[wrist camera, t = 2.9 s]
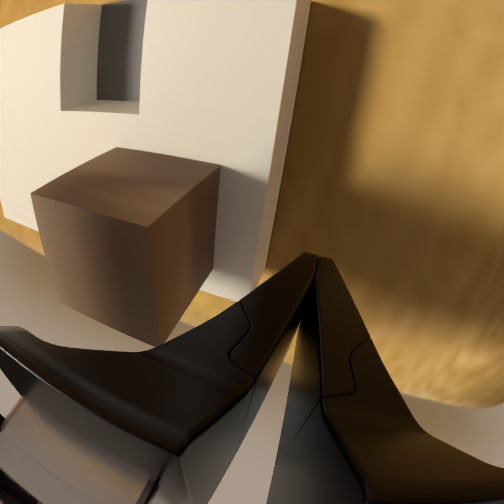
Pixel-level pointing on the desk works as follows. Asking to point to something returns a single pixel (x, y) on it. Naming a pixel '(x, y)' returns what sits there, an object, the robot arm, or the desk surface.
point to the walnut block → (130, 237)
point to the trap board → (158, 105)
